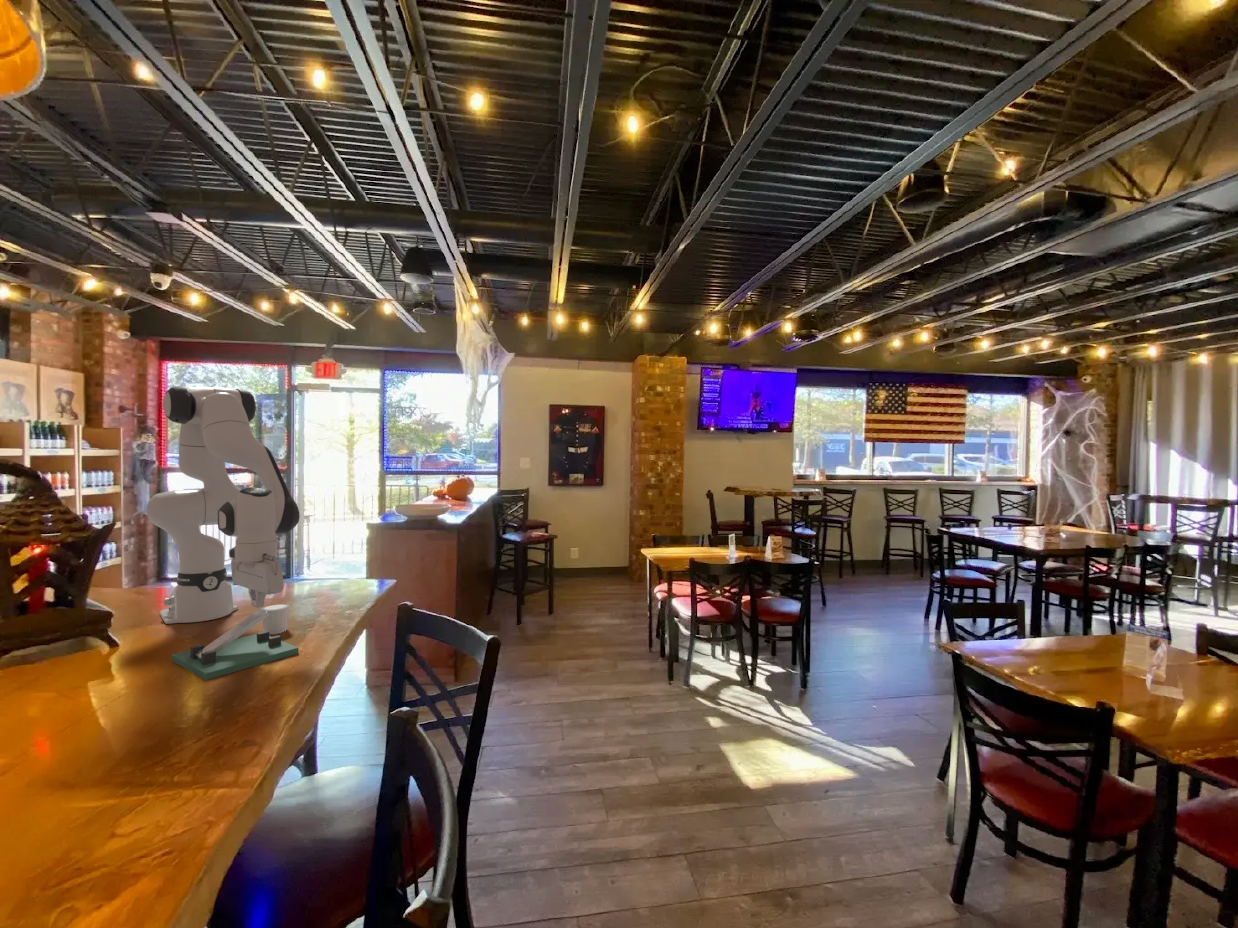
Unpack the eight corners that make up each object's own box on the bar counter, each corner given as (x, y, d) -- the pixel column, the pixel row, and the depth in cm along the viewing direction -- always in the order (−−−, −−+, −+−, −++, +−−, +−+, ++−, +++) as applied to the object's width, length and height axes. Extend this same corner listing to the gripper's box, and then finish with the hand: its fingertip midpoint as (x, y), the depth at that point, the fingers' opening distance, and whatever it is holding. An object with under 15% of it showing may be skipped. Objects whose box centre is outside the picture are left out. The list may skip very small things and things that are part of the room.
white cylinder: (295, 627, 162) (295, 603, 162) (278, 635, 155) (278, 610, 155) (273, 626, 163) (272, 602, 163) (255, 634, 156) (255, 609, 156)
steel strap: (197, 659, 134) (193, 653, 134) (263, 612, 146) (259, 607, 145) (204, 662, 132) (200, 657, 131) (270, 615, 144) (266, 609, 143)
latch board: (171, 660, 137) (171, 644, 137) (261, 637, 153) (261, 623, 153) (205, 680, 126) (205, 662, 125) (298, 653, 142) (298, 637, 142)
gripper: (290, 554, 140) (291, 610, 140) (252, 546, 151) (253, 597, 152) (262, 558, 134) (263, 616, 135) (225, 549, 146) (226, 602, 146)
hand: (257, 606), depth 143 cm, fingers closed
